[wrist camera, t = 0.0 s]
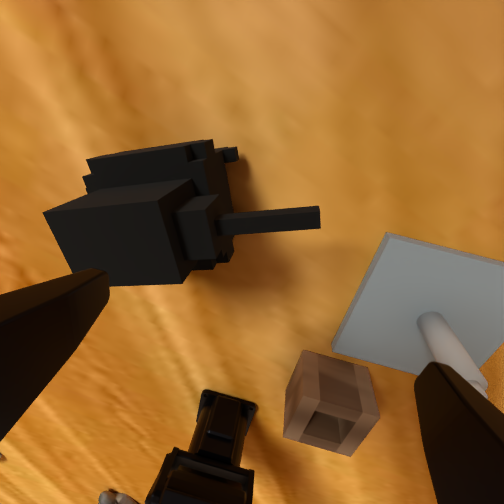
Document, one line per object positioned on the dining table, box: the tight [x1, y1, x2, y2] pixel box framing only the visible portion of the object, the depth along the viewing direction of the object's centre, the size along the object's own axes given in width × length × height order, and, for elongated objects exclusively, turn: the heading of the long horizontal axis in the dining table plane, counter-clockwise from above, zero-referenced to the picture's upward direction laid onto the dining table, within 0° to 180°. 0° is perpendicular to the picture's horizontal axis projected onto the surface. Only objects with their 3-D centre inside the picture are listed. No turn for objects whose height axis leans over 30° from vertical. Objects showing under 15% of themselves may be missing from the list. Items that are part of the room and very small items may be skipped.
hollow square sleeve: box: [283, 350, 380, 457], centre depth 27 cm, size 6×6×5 cm
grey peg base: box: [331, 232, 504, 399], centre depth 20 cm, size 12×12×8 cm
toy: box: [43, 139, 321, 287], centre depth 17 cm, size 8×14×10 cm, turn 98°
